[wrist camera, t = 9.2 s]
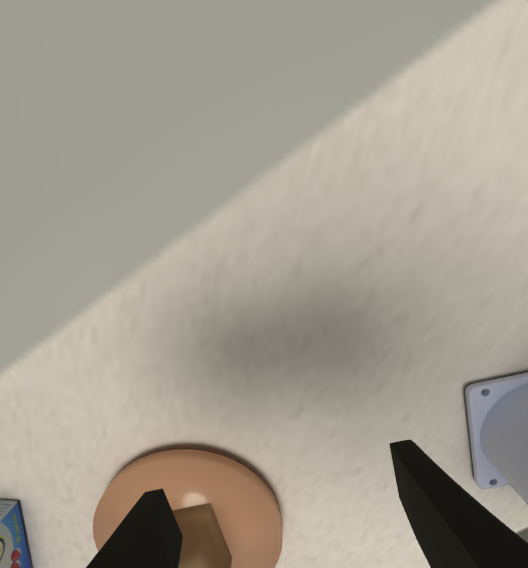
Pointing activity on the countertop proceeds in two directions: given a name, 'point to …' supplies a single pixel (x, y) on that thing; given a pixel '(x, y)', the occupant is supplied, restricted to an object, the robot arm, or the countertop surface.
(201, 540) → the oak block
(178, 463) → the peach round disc
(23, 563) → the medicine box
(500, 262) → the countertop surface
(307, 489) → the countertop surface
